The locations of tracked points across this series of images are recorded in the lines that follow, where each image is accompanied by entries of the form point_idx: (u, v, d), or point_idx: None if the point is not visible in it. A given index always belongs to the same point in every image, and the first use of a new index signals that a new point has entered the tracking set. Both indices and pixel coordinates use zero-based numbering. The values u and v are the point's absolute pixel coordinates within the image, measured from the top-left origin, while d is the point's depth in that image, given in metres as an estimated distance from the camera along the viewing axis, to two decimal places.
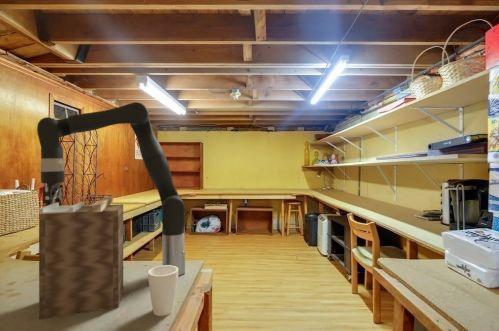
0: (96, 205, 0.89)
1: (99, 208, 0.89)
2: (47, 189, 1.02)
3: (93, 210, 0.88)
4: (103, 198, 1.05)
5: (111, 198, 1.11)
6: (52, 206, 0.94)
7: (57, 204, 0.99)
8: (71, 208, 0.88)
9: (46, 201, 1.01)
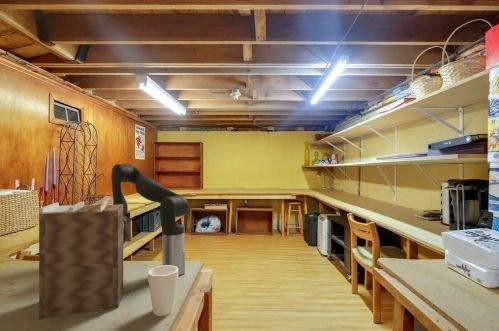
0: (96, 205, 0.89)
1: (99, 208, 0.89)
2: None
3: (93, 210, 0.88)
4: (103, 198, 1.05)
5: (111, 198, 1.11)
6: (52, 206, 0.94)
7: (57, 204, 0.99)
8: (71, 208, 0.88)
9: None
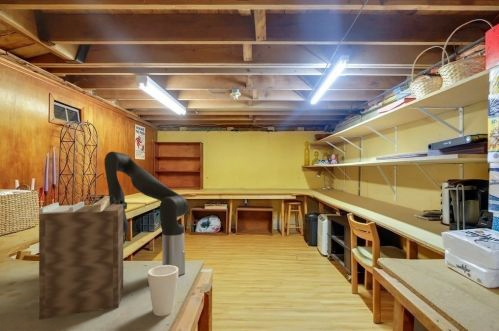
0: (96, 205, 0.89)
1: (99, 208, 0.89)
2: None
3: (93, 210, 0.88)
4: (103, 198, 1.05)
5: None
6: (52, 206, 0.94)
7: (57, 204, 0.99)
8: (71, 208, 0.88)
9: None
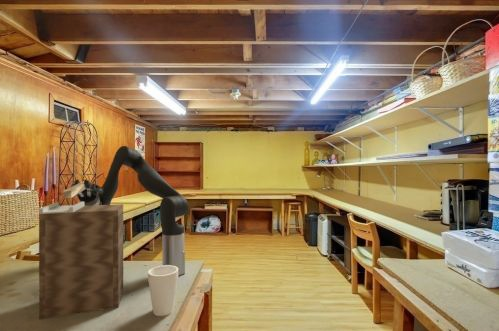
0: (67, 191, 0.95)
1: (70, 194, 0.95)
2: None
3: (64, 196, 0.95)
4: (78, 184, 1.11)
5: None
6: (52, 206, 0.94)
7: (57, 204, 0.99)
8: (71, 208, 0.88)
9: None
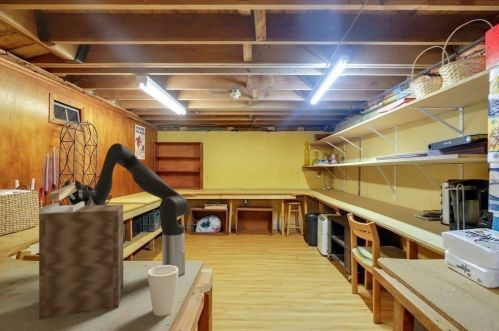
0: (54, 194, 0.86)
1: (57, 197, 0.86)
2: None
3: (51, 199, 0.86)
4: (68, 185, 1.02)
5: None
6: (52, 206, 0.94)
7: (57, 204, 0.99)
8: (71, 208, 0.88)
9: None
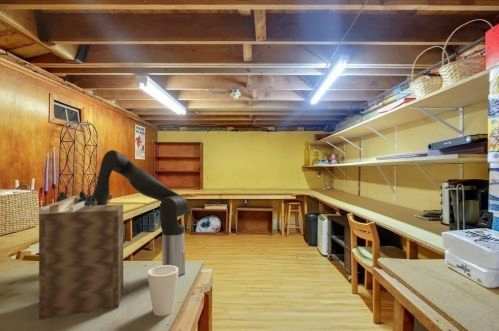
0: (54, 205, 0.85)
1: (57, 208, 0.85)
2: None
3: (50, 211, 0.85)
4: (68, 198, 1.02)
5: (78, 198, 1.07)
6: None
7: None
8: (71, 208, 0.88)
9: None
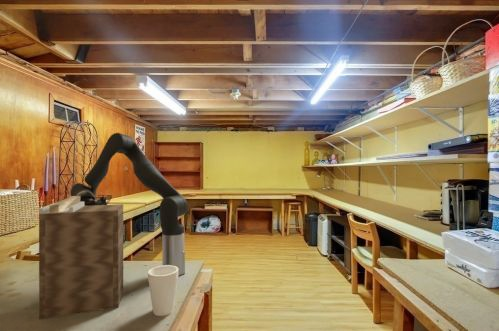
0: (54, 205, 0.85)
1: (57, 208, 0.85)
2: None
3: (50, 211, 0.85)
4: (68, 198, 1.02)
5: (78, 198, 1.07)
6: None
7: None
8: (71, 208, 0.88)
9: None
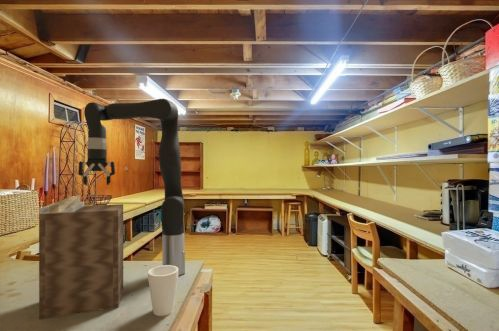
0: (54, 205, 0.85)
1: (57, 208, 0.85)
2: None
3: (50, 211, 0.85)
4: (68, 198, 1.02)
5: (78, 198, 1.07)
6: None
7: None
8: (71, 208, 0.88)
9: None
